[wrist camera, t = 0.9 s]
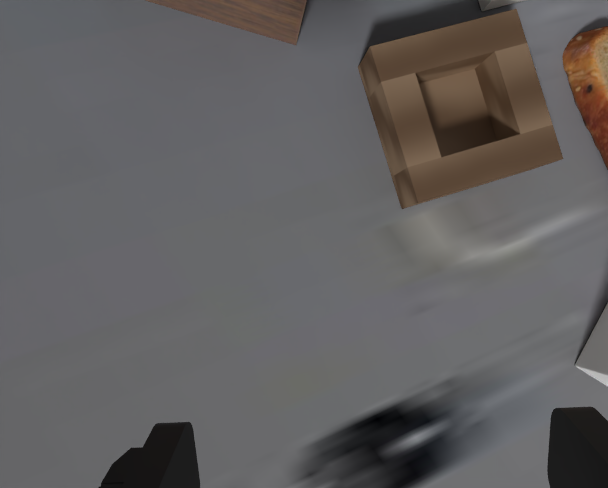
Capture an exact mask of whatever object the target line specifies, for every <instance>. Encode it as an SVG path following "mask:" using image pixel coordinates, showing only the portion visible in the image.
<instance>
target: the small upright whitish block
mask: <svg viewBox="0 0 608 488" xmlns="http://www.w3.org/2000/svg"><path fill="white" fill-rule="evenodd" d="M478 1H479V5H480V8H481V11H486V10H490V9H493V8H497V7H501V6H505V5H509V4H513V3H517V2H521V1H525V0H478Z"/></svg>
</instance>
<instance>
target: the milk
mask: <svg viewBox="0 0 608 488" xmlns="http://www.w3.org/2000/svg"><path fill="white" fill-rule="evenodd" d="M575 366H576V367H577V368H579V369H580V370H582V371H584V372H585V373H587V374H588V375H590V376H592V377H593V378H595V379H596V380H598V381H600V382H601V383H603V384H604V385H606V386H608V303H607V305H606V307H605V309H604V311H603V312H602V314H601V316H600V318H599V320H598V322H597V324H596V326H595V328H594V330H593V331H592V333H591V335H590V337H589V339H588V341H587V343H586V345H585V347H584V349H583V351H582V352H581V354H580V356H579V358H578V360H577V362H576V364H575Z"/></svg>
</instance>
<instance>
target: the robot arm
mask: <svg viewBox="0 0 608 488" xmlns="http://www.w3.org/2000/svg"><path fill="white" fill-rule="evenodd" d="M548 480H549V484H550V488H608V421H607V420H606V419H605V418H604V417H603V416H602V415H601V414H600V413H599V412H598V411H597V410H596V409H595V408H593V407H573V408H556V409H554V410H553V412H552V415H551V424H550V439H549V453H548ZM99 488H200V479H199V471H198V463H197V456H196V448H195V441H194V433H193V428H192V425H191V423H190V422H178V423H157V424H156V425H155V426H154V427H153V429H152V431H151V433H150V435H149V437H148V438H147V440H146V442H145V444H144V446H143V448H130V449H129V450H128V451H127V452H126V453H125V454H124V455H122V456H121V457H120V458H119V459H118V460H117V461H116V462H114V463H113V464H112V466H111V467H110V469H109V471H108V472H107V474H106V476H105V478H104V479H103V481H102V483H101V487H99Z"/></svg>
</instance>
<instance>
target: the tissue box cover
mask: <svg viewBox="0 0 608 488" xmlns="http://www.w3.org/2000/svg"><path fill="white" fill-rule="evenodd" d="M146 1H149V2H152V3H156V4H159V5H163V6H166V7H169V8H173V9H176V10H179V11H183V12H186V13H189V14H193V15H196V16H200V17H203V18H206V19H210V20H213V21H216V22H220V23H223V24H226V25H230V26H233V27H237V28H240V29H243V30H247V31H250V32H253V33H257V34H260V35H263V36H267V37H270V38H273V39H277V40H280V41H284V42H287V43H290V44H294V45H296V43H297V39H298V35H299V31H300V27H301V23H302V20H303V16H304V12H305V8H306V4H307V0H146Z"/></svg>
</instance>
